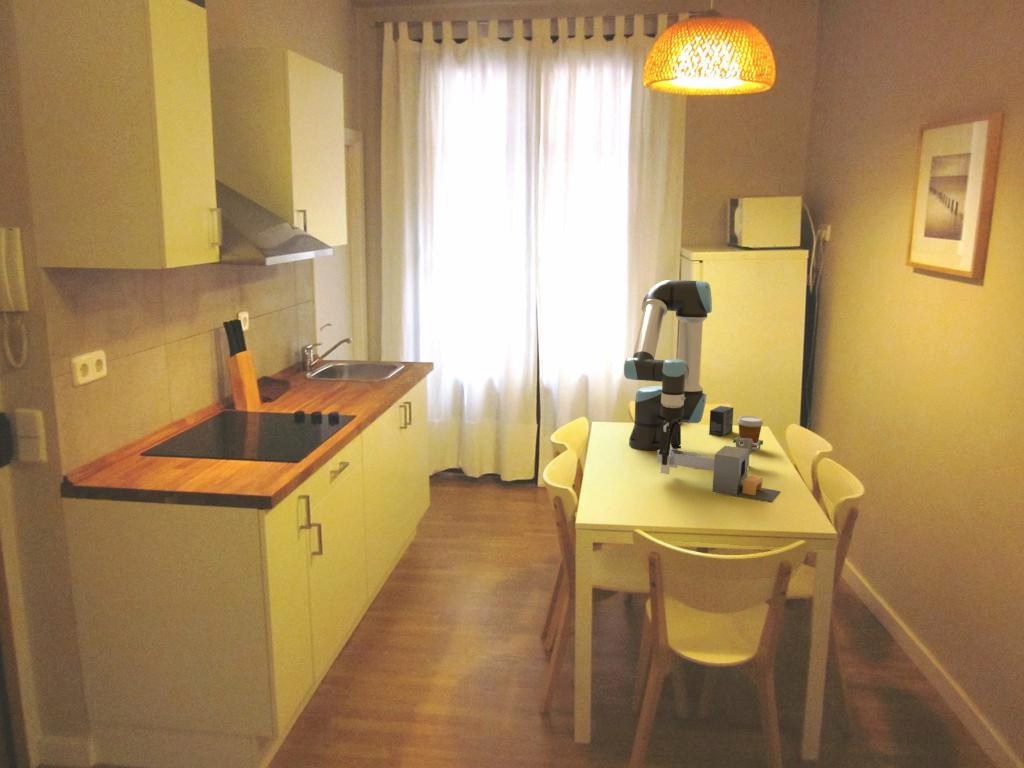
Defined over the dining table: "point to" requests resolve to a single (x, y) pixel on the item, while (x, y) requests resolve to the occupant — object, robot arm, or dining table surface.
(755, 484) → the block
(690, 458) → the shaft
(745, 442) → the mechanical component
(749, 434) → the disposable coffee cup
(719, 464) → the block
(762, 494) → the mat
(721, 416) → the small box
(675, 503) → the dining table surface
